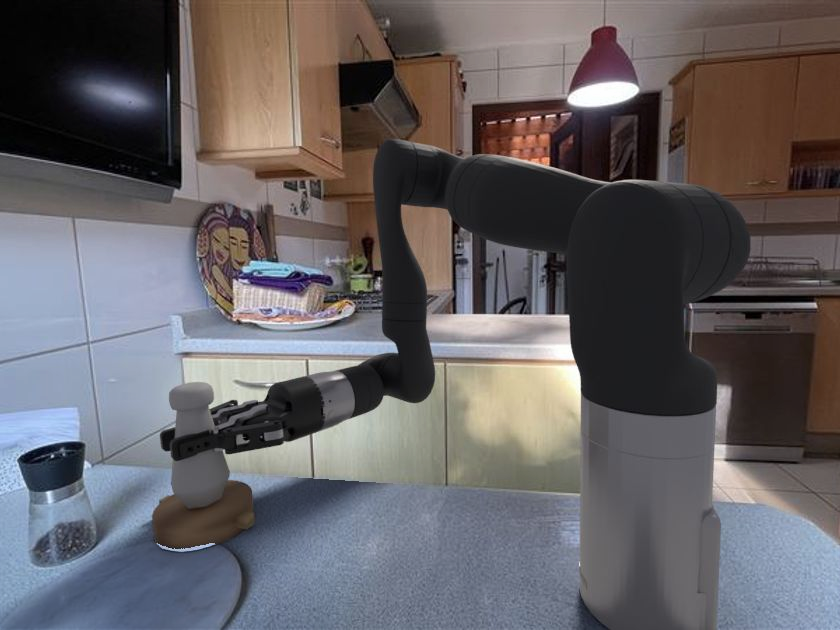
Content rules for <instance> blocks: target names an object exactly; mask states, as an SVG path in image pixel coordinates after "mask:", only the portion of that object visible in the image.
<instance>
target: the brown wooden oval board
mask: <svg viewBox="0 0 840 630" xmlns="http://www.w3.org/2000/svg"><path fill="white" fill-rule="evenodd" d="M254 511H255V509H254V499H253V489H252V488H251V486H250V485H249V484H247V483H245V482H244V481H239V480H233V479H228V481H227V483H226V486H225V488H224V491H223V494H222V497H221V499H219V500H217V501H216V502H214V503H212V504H210V505H208V506H206V507H199V508H190V509H188V508H187V507H186V506H185V505H184V504H183V503H182V502H181V501H180V500H179V498H178V497H177V496H176V495H175V494H174V493H173V494H171V495H166V496H164V497H162V498H161V499H159V500H158V505H157V506H156V507H155V508H154V510H153V512H152V516H151V520H152V527H153V537H154V543H155V542H156V543H158V544H160V545H162V546H166V547H168V548H172V549H174V548H175V549H181V548H182V549H183V548H184V549H185V548H191V547H195V546H200V545H206V544H209V543H215V544H217V545H220V544H222V543H225V542H227V541H228V540H230V539H232V538H234V537H235V536H237V535H238V534H240V533H241V532H243V530H248V529H249V528H250V527H252V526H253V525H254V524H255V521H256V520H255V512H254ZM156 543H155V544H156Z"/></svg>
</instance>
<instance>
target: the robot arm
mask: <svg viewBox="0 0 840 630" xmlns="http://www.w3.org/2000/svg"><path fill="white" fill-rule="evenodd" d="M374 156H375V157H374V162H373V168H372V188H373V190H372V191H373V199H374V200H373V201H374V207H375V210H374V211H375V218H376V219H375V220H376V227H377V235H378V245H379V252H380V260H381V261H380V262H381V271H382V272H381V274H382V298H381V299H382V300H381V301H382V302H381V317H382V318H381V331H382V334H383V335H384V337H386V338H387V339H389V340H390V341H391V342H393V343H394V345H395V347H396V350H397V352H385V353H379V354H377V355H374V356H372V357H370V358H368V359H366V360H365V361H363V362H361V363H359V364H357V365H353V366H349V367H345V368H340V369H337V370H331V371H330V370H329V371H320V372H316V373H313V374H308V375H304V376H298V377H295V378H291V379H287V380H282V381H279V382H275V383H273V384H272V385H271V386H270V387H269V389H268V390H267V394H266V396H265V398H264V400H262V401H259V400H258V399H252V400H247V401H244V402H242V403H241V404H239V401H238V399H231V400H228V401H226V402H224V403H221V404H218V405H216V406H214V407H210V408H209V409H210V412H211V415H212V419H213V422H214V425H215V427H213V428H211V432H210V431H209V430H206V431H203V432H200V433H197V434H188V435H185V436H181V437H178V438H175V427H172V428H171V427H170V428H168V429H164V430H162V431H160V433H159V442H160V447H161V450H163V451H164V452H170V457H171V458H172V460H173V459H174V460H175V461H180V460H183V459H186V458H189V457H192V456H195V455H197V453H201V452H204V451H207V450H210V449H213V451H214V452H219V451H222V450H223V451H224V455H233V454H238V453H239V454H240V453H244V452H245V453H246V452H249V451H250V452H251V451H256V450H261V449H267V448H273V447H276V446H277V447H278V446H281V445H283V444H284V442H285V443H290V442H293V441H296V440H299V439H302V438H304V437H307V436H310V435H313V434H316V433H318V432H319V433H320V432H321V431H324V430H327V429H330V428H333V427H336V426H338V425H339V424H341V423H343V422H346V421H348V420H350V419H353V418H356V417H359V416H362V415H365V414H367V413H370V412H372V411H374V410H375V409H377V408H378V407H379V406H380V404H381V403H382V401H383V399H384V397H391V398H393V399H398V400H400V401H403V402H406V403H409V404H419V403H423V402H424V401H425V400H427V399H428V397H429V396H430V394H431V393H432V391H433V389H434V386H435V381H436V368H435V367H436V366H435V361H434V358H433V357H434V356H433V353H432V348H431V343H430V339H429V335H428V330H427V313H428V286H427V282H426V278H425V274H424V272H423V270H422V268H421V265H420V263H419V262H418V259H417V257H416V255H415V253H414V251H413V250H412V247H411V245H410V243H409V240H408V238H407V235H406V233H405V230H404V226H403V225H404V224H403V219H402V206H409V207H419V208H420V207H421V208H436V209H442V210H443V209H444V210H446V211H448V214H449V216H450V218H452V219H451V220H452V221H454V223H455V224H456V225H458V226H459V227H460V228H462V229H463V230H465V231H467V232H469V233H470V234H472V235H475V236H478V237H479V238H482V239H485V240H486V241H490V242H493V243H496V244H499V245H503V246H508V247H512V248H513V247H514V248H518V249H524V250H531V251H536V252H537V251H539V252H543V253H544V252H546V253H555V254H560V255H566V279H567V280H566V282H567V283H566V284H567V285H566V286H567V301H568V319H569V321H568V322H569V338H570V339H569V341H570V348H571V353H572V357H573V359H574V362H575V364H576V367H577V369H578V372H579V379H580V448H579V449H580V451H579V452H580V455H579V457H580V461H579V462H580V465H579V466H580V469H579V471H580V472H579V475H580V477H579V481H580V482H579V560H578V561H579V562H578V570H579V571H578V572H579V592H580V596H581V599H582V601H583V603H584V605H585V606H586V608H587V609H588V611H589V612H590V613H591V615H592V616H593V617H594V618H595V619H597V621H598V622H600V624H601V625H603V626H604V627H606V628H607V629H608V630H717V626H718V603H719V581H720V580H719V579H720V578H719V577H720V559H721V558H720V556H721V537H722V535H721V534H722V522H721V517H720V516H719V514H718V513H717V511H716V509H715V506H714V505H713V493H714V491H713V490H714V489H713V488H714V468H715V467H714V466H715V445H716V444H715V442H716V441H715V440H716V418H717V417H716V416H717V401H718V400H717V399H718V398H717V397H718V374H717V370H716V369H715V367H714V366H713V364H712V363H711V362H710V361H708V360H706V359H704V358H702V357H700V356H698V355H695V354H694V353H692V352H691V350H690V349H689V347H688V345H687V343H686V335H685V334H686V332H685V331H686V330H685V311H684V310H685V307H684V305H688V304H690V303H691V304H692V303H694V302H698V301H701V300H704V299H706V298H709V297H711V296H713V295H715V294H717V293H718V292H721V291H723V290H724V289H725V288H727V287H728V286H730V285H731V284H732V283H733V282H734V281H735V280H736V279H737V278H738V277H739V275H741V273H742V272H743V271H744V269H745V268H746V265H747V264H748V261H749V258H750V254H751V251H752V250H751V249H752V247H751V235H750V234H751V233H750V230H749V227H748V224H747V222H746V219H745V218H744V217H743V215H742V213H741V212H740V210H739V209H738V208H737V207H736V206H735V205H734V204H733V203H732V202H731V201H730V200H728V199H727V198H725V196H723V195H722V194H721V193H719V192H716V191H714V190H712V189H710V188H708V187H705V186H702V185H697V184H694V183H685V182H671V181H660V180H645V179H623V180H616V181H613V182H610V181H603V180H597V179H592V178H588V177H586V176H582V175H579V174H577V173H573V172H570V171H566V170H563V169H560V168H556V167H552V166H549V165H546V164H542V163H538V162H535V161H529V160H525V159H520V158H517V157H511V156H505V155H499V154H489V153H479V154H474V155H469V156H467V157H465V158H464V157H461V156H458V155H456V154H454V153H453V154H452V153H451V152H448V151H446V150H444V149H442V148H439V147H437V146H434V145H430V144H426V143H425V144H424V143H419V142H416V141H415V142H414V141H409V140H403V139H398V138H388V139H385V140H384V141H383V142H382V143H381V144H380V145H379V147H378V149H377V150H376V154H375V155H374Z"/></svg>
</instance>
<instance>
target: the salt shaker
mask: <svg viewBox="0 0 840 630" xmlns="http://www.w3.org/2000/svg"><path fill="white" fill-rule="evenodd" d="M214 400H215V392H214V389H213V386H212V384H210V383H208V382H205V381H193V382H187V383H186V382H185V383H183V384H182V383H181V384H180V385H179V384H178V385H177V386H175V387H173V388H172V389H170V391H169V393H168V402H169V406H170V408H171V410H173V411H176V415H175V438H178V437H181V436H185V435H188V434H197V433H200V432H203V431H206V430H209V431H210V432H211V428H213V427H215V425H214V422H213V419H212V415H211V412H210V409H211V408H210V406H209V405H211V404H212V403H213V402H214ZM230 474H231V473H230V469H229V466H228V463H227V460H226V457H225V452H224V450H222V451H219V452H214V451H213V449H210V450H207V451H204V452H201V453H197V455H195V456H192V457H189V458H186V459H183V460H180V461H175V460H174V459H173V458H172V465H171V476H170V477H171V478H170V479H171V480H170V485H171V489H172V492H173V494H175V495H176V496H177V497H178V498H179V500H180V501H181V502H182V503H183V504H184V505H185V506H186V507H187V508H188V509H190V508H199V507H206V506H208V505H210V504H212V503H214V502H216V501H217V500H219V499H221V497H222V494H223V491H224V488H225V486H226V483H227V481H228V480H230Z"/></svg>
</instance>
